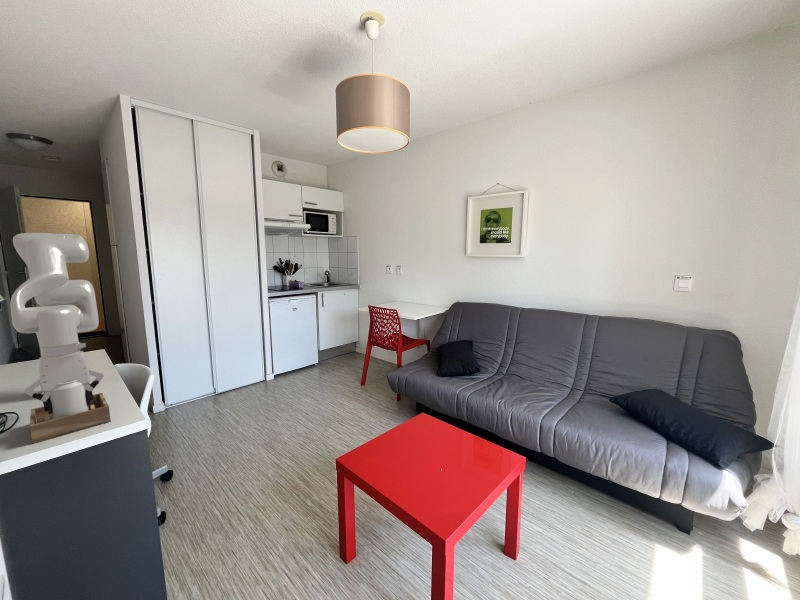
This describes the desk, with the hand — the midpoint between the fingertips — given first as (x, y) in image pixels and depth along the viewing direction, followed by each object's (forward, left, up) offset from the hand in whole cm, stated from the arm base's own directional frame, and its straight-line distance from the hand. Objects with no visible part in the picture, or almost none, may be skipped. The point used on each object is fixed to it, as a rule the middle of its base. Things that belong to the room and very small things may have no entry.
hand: (70, 407), depth 97 cm
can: (0, 0, -4) cm, 4 cm away
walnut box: (-3, 0, -6) cm, 6 cm away
